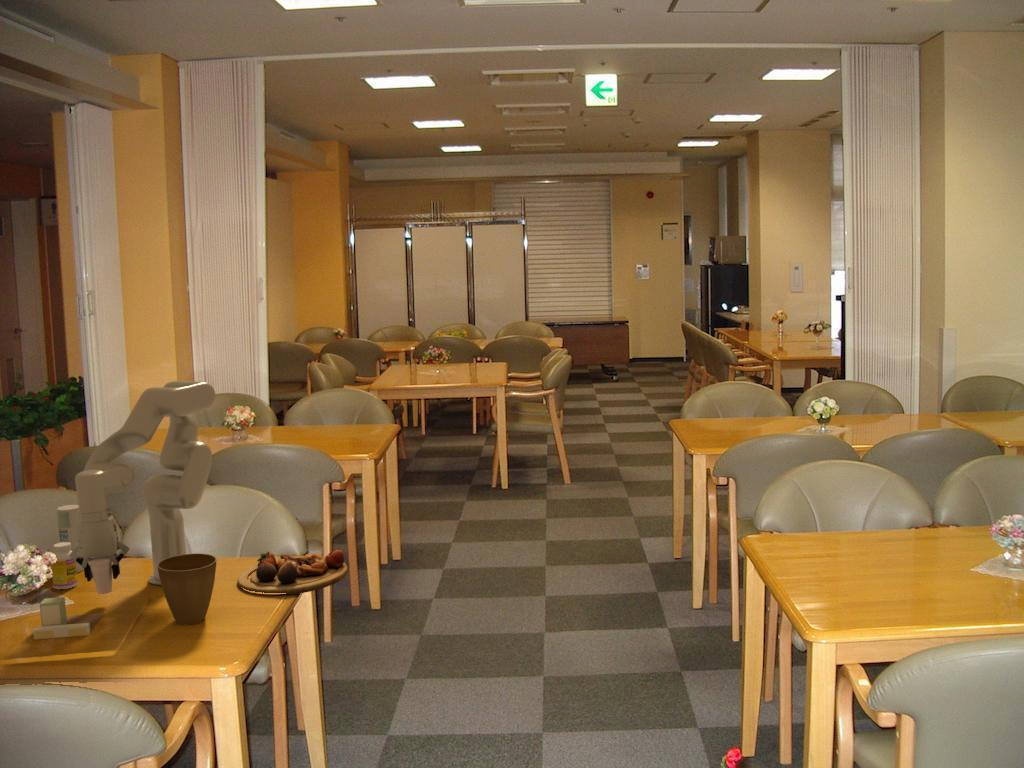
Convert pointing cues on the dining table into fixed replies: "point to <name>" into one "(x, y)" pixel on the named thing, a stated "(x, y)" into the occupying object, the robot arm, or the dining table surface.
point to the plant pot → (188, 585)
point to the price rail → (61, 631)
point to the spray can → (69, 527)
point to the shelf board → (84, 619)
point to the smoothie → (102, 573)
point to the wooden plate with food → (294, 573)
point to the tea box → (53, 611)
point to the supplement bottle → (64, 567)
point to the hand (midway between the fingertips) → (103, 577)
